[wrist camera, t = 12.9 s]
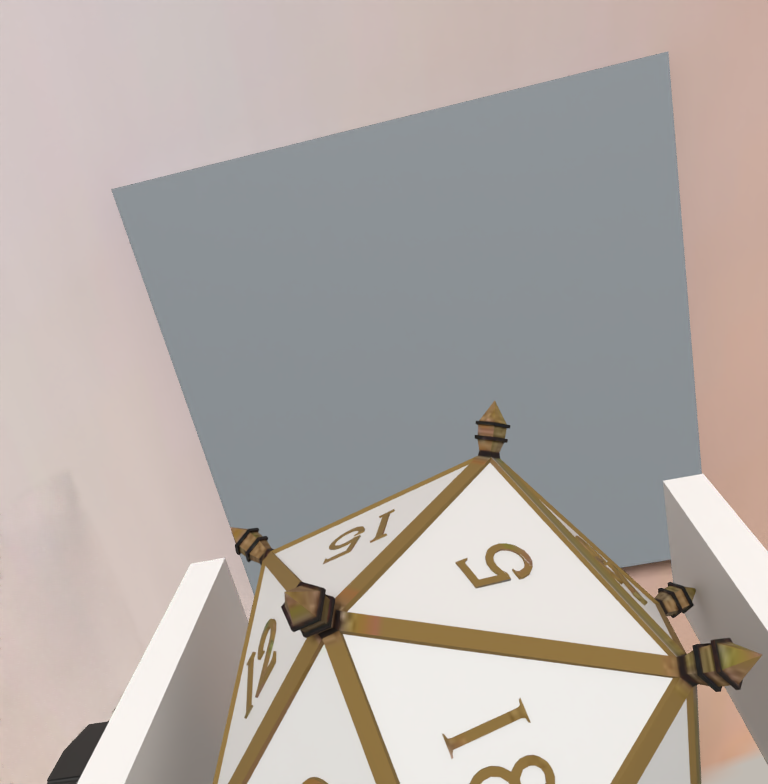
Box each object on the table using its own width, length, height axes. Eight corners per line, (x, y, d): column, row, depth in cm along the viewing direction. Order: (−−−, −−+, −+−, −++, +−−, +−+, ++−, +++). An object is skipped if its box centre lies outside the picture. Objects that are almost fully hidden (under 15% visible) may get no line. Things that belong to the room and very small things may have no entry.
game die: (698, 613, 16) (1092, 1292, 7) (377, 736, 18) (333, 1409, 8) (536, 274, 13) (813, 613, 4) (178, 458, 15) (-200, 986, 6)
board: (271, 602, 30) (264, 625, 29) (128, 186, 24) (111, 189, 23) (693, 532, 28) (708, 553, 27) (652, 56, 22) (667, 51, 21)
